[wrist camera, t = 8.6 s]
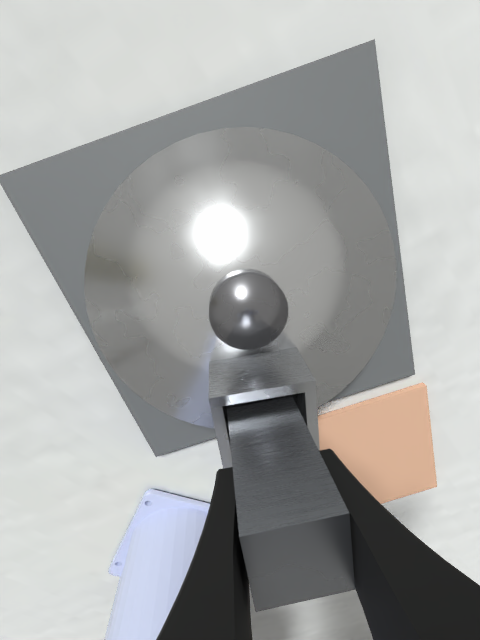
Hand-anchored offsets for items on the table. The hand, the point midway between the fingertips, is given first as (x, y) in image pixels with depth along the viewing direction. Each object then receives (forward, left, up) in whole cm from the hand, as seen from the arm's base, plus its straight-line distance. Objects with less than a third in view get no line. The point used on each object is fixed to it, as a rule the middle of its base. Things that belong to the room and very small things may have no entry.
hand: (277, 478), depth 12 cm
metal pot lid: (+4, +3, -8) cm, 10 cm away
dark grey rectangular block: (0, 0, -3) cm, 3 cm away
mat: (-4, -11, -8) cm, 15 cm away
